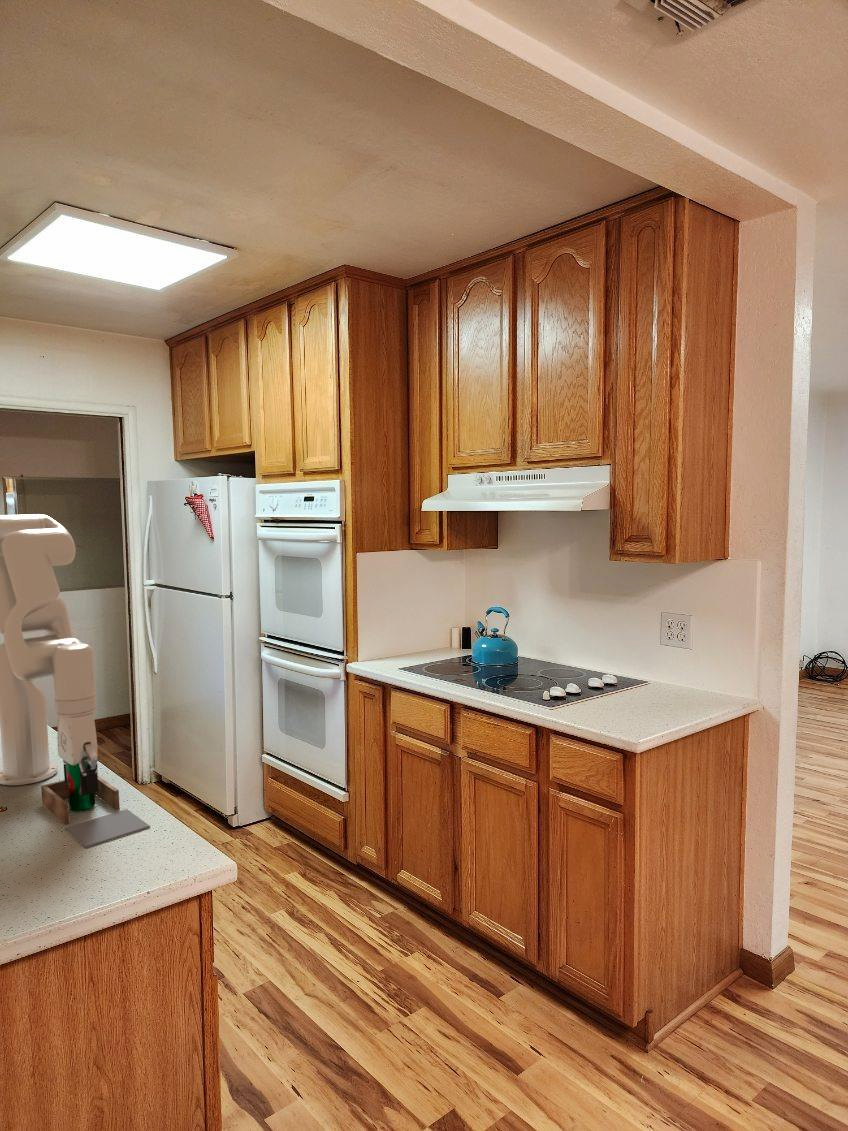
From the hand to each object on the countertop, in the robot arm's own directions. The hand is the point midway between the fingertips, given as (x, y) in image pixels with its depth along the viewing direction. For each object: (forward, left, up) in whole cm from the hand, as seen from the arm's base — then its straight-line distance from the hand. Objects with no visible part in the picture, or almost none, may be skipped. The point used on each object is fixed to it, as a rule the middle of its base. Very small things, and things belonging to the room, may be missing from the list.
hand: (81, 787), depth 156 cm
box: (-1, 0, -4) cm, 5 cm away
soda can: (0, 0, -5) cm, 5 cm away
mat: (+13, 0, -4) cm, 14 cm away
